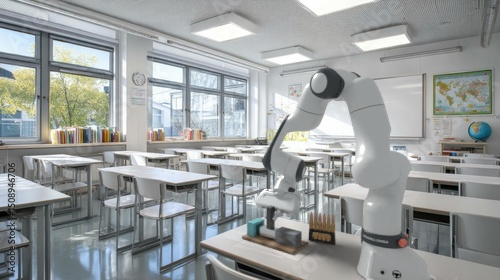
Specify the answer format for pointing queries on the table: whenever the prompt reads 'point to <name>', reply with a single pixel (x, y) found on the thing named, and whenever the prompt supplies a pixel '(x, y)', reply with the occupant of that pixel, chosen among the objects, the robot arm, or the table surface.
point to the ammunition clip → (322, 229)
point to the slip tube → (269, 224)
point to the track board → (280, 240)
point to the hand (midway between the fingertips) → (269, 219)
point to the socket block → (254, 226)
